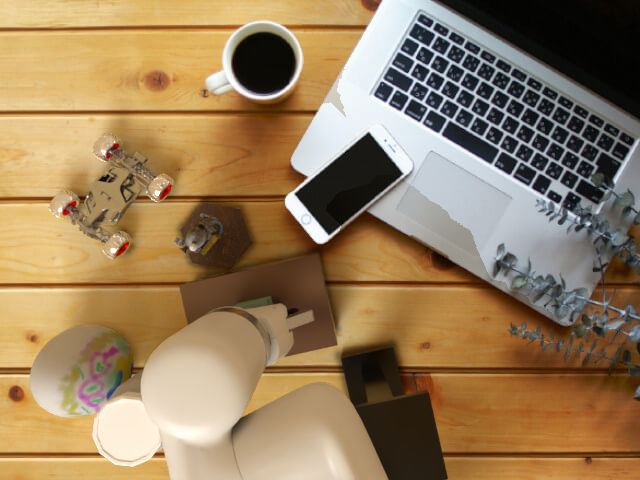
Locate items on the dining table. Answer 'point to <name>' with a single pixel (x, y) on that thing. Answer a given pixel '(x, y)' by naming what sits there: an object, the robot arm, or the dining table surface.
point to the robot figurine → (215, 236)
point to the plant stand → (394, 416)
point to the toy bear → (255, 303)
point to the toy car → (112, 195)
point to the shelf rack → (281, 284)
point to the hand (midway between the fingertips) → (254, 319)
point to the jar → (126, 426)
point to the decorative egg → (80, 370)
